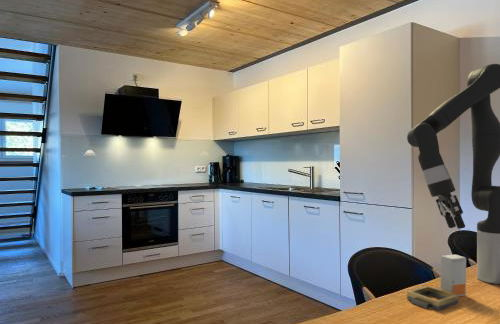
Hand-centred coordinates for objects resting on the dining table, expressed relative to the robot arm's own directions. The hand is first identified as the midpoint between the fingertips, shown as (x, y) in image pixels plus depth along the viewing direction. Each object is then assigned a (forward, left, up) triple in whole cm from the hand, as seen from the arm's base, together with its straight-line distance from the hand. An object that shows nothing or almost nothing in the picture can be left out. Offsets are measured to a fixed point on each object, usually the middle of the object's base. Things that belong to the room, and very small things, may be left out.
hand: (457, 227), depth 118 cm
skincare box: (+5, +2, -20) cm, 21 cm away
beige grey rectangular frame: (+16, +2, -20) cm, 26 cm away
